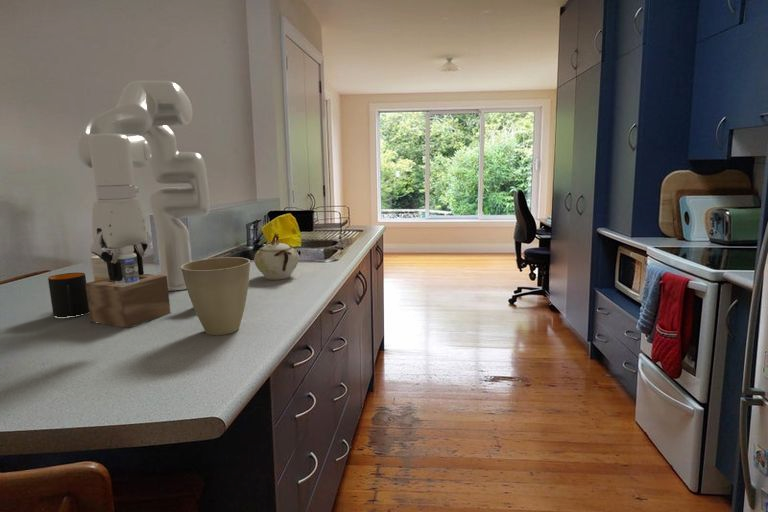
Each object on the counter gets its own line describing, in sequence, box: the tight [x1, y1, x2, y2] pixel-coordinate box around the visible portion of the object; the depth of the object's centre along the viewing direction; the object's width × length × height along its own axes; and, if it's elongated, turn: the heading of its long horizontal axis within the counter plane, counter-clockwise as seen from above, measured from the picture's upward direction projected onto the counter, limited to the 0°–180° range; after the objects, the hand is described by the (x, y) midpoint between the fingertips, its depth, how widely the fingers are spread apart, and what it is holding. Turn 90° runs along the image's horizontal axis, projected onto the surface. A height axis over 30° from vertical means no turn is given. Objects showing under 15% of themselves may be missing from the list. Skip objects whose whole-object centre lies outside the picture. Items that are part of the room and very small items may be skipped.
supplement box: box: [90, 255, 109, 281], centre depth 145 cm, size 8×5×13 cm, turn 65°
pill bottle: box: [115, 245, 139, 285], centre depth 108 cm, size 5×5×8 cm
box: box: [85, 273, 171, 329], centre depth 127 cm, size 13×13×10 cm
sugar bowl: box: [253, 233, 300, 281], centre depth 170 cm, size 20×15×15 cm
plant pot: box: [181, 256, 251, 336], centre depth 114 cm, size 15×15×16 cm
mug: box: [47, 272, 89, 317], centre depth 130 cm, size 8×12×10 cm
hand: (127, 276), depth 109 cm, fingers closed on pill bottle, 4 cm apart
